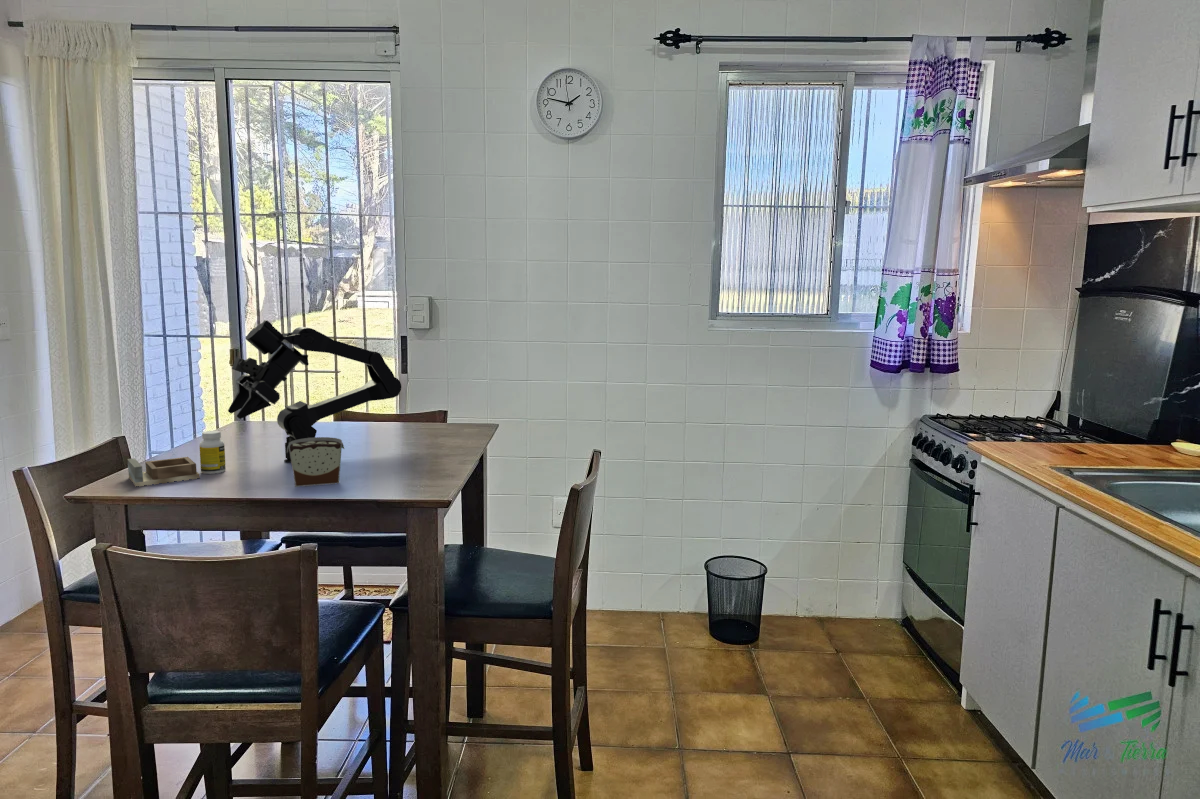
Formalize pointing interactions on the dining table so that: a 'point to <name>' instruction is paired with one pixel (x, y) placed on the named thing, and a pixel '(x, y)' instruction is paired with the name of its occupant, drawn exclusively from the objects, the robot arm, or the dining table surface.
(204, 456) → the supplement bottle
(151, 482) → the wooden display tray
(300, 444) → the food container
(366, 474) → the dining table surface
